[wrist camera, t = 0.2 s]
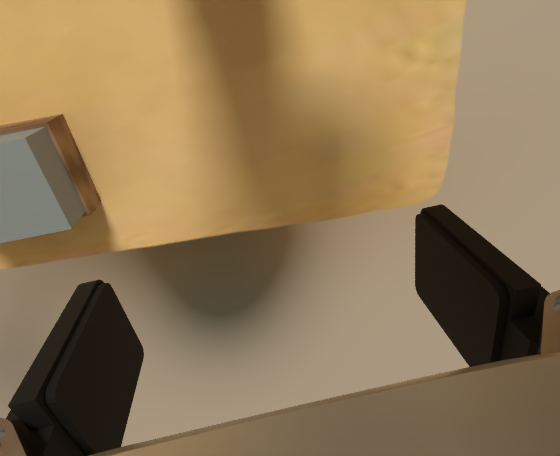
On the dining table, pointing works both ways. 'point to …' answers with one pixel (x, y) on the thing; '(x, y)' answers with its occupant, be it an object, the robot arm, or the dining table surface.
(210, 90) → the dining table surface
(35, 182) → the slate top block
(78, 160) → the walnut base block
